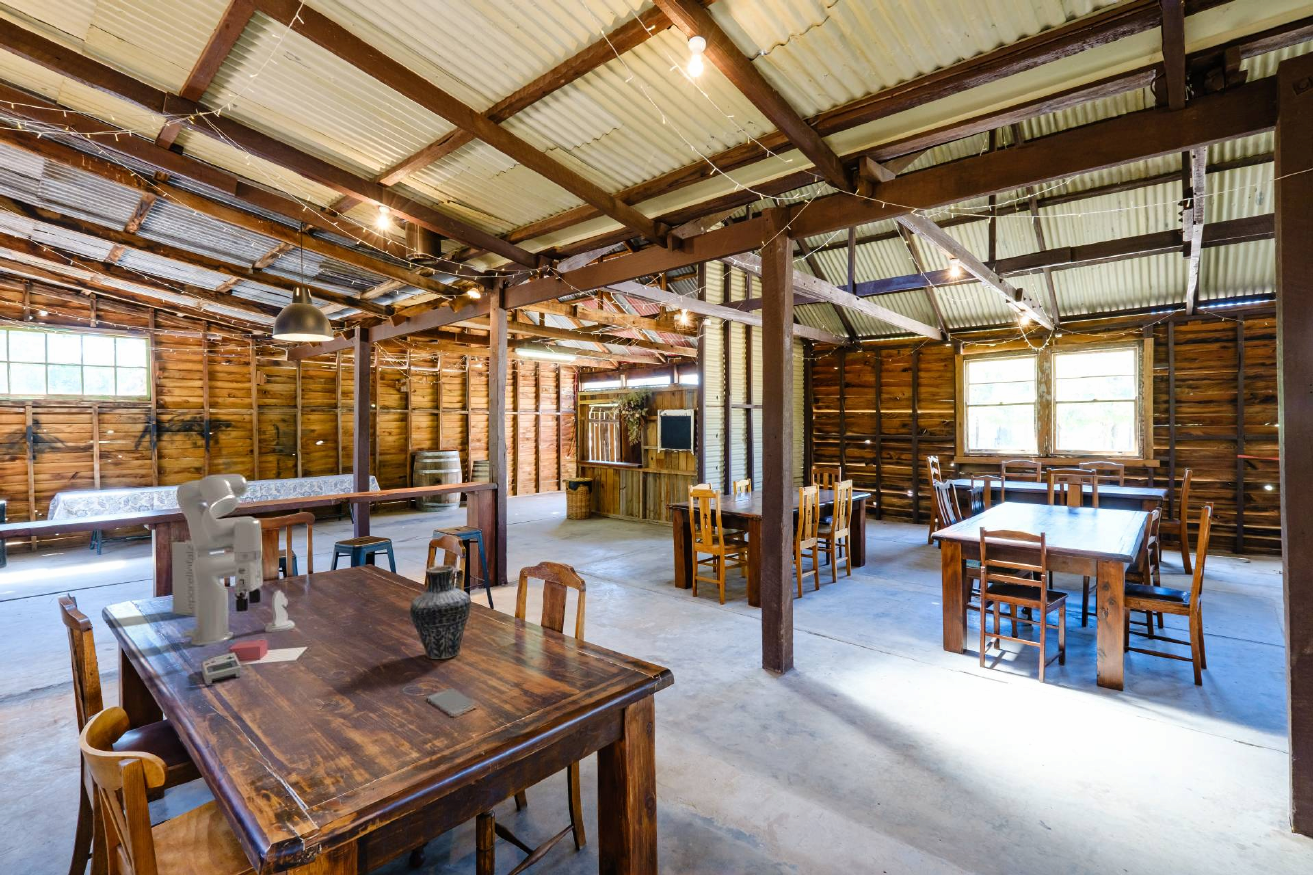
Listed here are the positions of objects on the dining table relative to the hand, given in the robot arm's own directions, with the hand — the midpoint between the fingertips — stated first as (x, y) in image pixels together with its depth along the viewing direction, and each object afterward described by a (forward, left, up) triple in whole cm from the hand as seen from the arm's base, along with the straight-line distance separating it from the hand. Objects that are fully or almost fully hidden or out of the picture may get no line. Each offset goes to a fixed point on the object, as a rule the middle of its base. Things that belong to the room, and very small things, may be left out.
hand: (248, 606), depth 196 cm
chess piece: (-2, +33, -18) cm, 38 cm away
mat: (+5, 0, -18) cm, 18 cm away
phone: (+70, -51, -19) cm, 88 cm away
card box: (0, 0, -17) cm, 17 cm away
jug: (+63, -12, -18) cm, 66 cm away
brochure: (-46, +64, -18) cm, 81 cm away
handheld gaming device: (-3, -13, -18) cm, 22 cm away
